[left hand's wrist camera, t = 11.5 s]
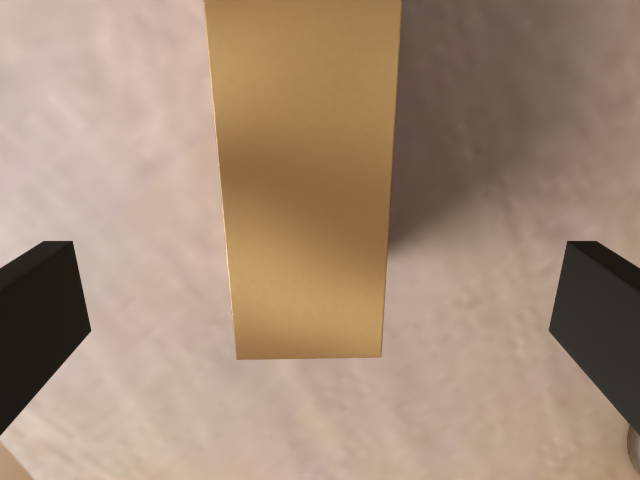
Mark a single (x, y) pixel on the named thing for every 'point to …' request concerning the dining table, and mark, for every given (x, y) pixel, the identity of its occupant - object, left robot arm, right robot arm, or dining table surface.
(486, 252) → the dining table surface
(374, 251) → the bar
